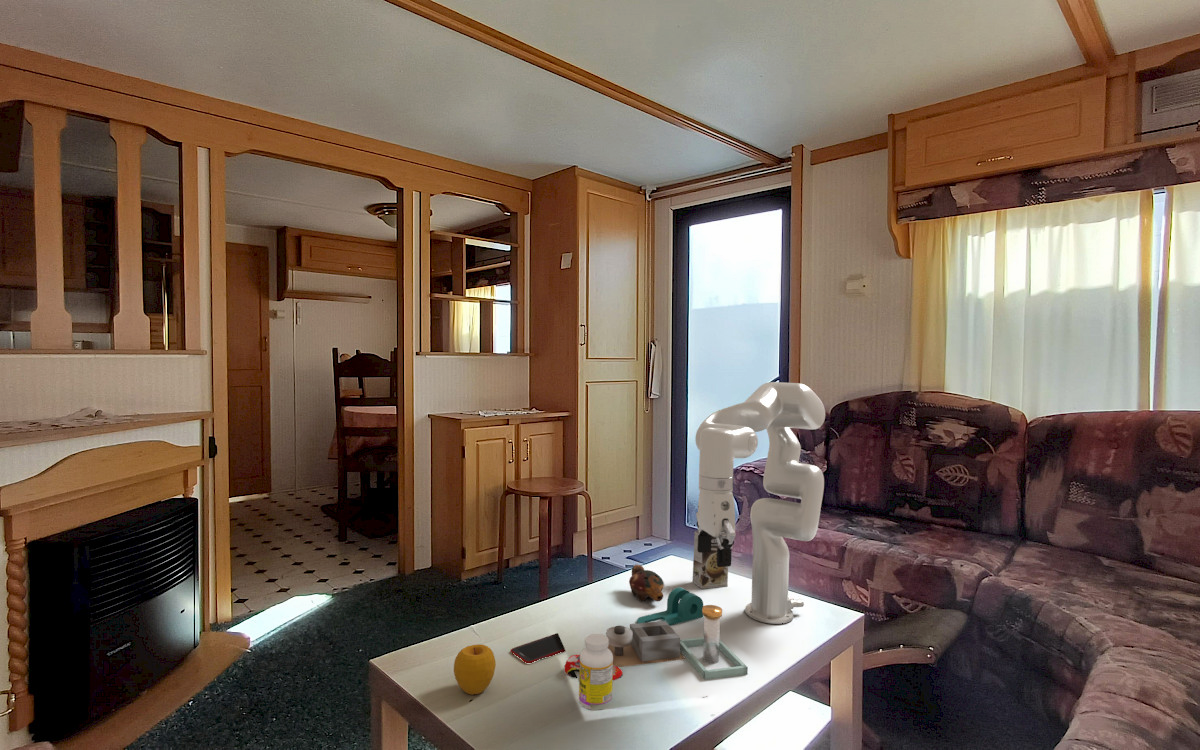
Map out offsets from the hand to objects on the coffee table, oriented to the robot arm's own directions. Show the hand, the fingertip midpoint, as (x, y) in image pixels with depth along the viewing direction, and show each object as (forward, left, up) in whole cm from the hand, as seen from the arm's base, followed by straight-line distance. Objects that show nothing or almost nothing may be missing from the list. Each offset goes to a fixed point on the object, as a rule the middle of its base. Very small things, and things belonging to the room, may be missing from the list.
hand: (713, 558), depth 135 cm
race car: (+27, -1, -25) cm, 37 cm away
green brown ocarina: (+1, -39, -25) cm, 46 cm away
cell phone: (+35, -15, -25) cm, 46 cm away
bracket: (+2, -22, -25) cm, 33 cm away
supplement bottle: (+29, +9, -24) cm, 39 cm away
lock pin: (0, 0, -23) cm, 23 cm away
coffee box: (-22, -45, -24) cm, 56 cm away
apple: (+52, -1, -24) cm, 58 cm away
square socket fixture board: (+14, -6, -24) cm, 29 cm away
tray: (0, +1, -24) cm, 24 cm away
